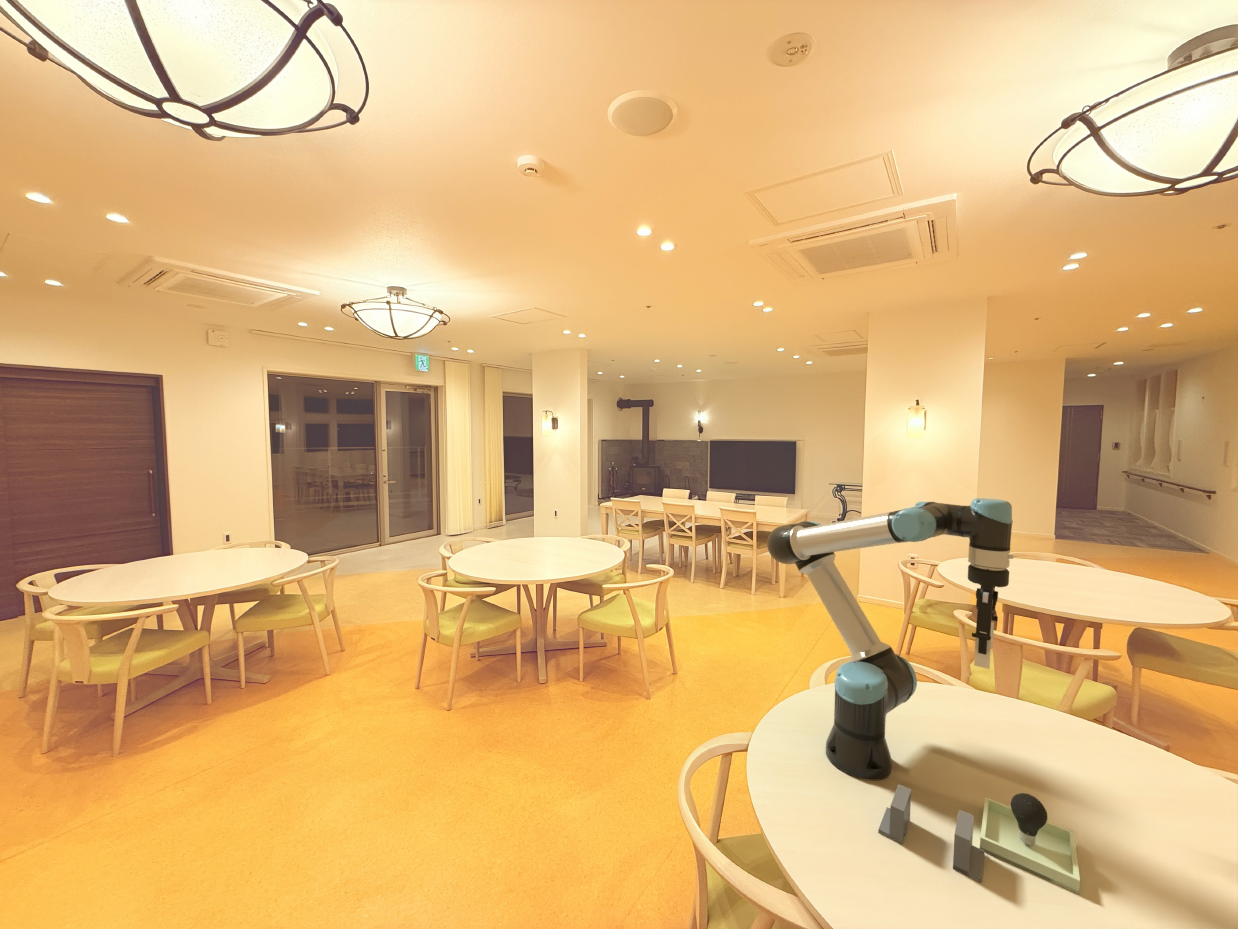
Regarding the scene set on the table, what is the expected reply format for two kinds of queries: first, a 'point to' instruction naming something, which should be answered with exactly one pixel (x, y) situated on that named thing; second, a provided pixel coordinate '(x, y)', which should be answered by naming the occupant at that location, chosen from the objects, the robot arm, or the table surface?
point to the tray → (1031, 846)
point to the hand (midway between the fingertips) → (983, 656)
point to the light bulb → (1028, 816)
